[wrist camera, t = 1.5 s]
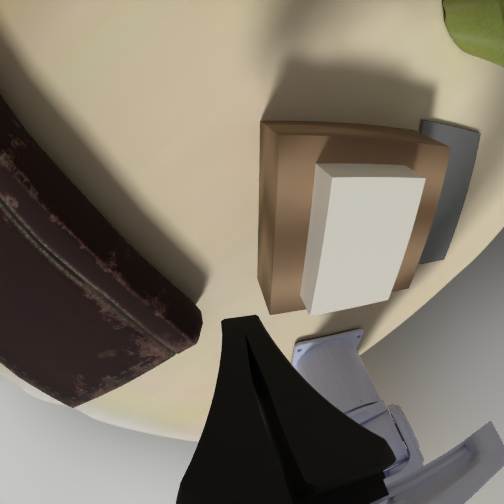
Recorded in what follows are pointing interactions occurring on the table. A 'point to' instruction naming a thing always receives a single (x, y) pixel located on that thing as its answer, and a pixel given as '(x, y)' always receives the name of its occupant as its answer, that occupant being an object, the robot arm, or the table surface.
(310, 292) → the off-white rectangular block
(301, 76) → the table surface
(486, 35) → the plant pot
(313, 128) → the brown shallow square box
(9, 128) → the diary
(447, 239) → the mat
